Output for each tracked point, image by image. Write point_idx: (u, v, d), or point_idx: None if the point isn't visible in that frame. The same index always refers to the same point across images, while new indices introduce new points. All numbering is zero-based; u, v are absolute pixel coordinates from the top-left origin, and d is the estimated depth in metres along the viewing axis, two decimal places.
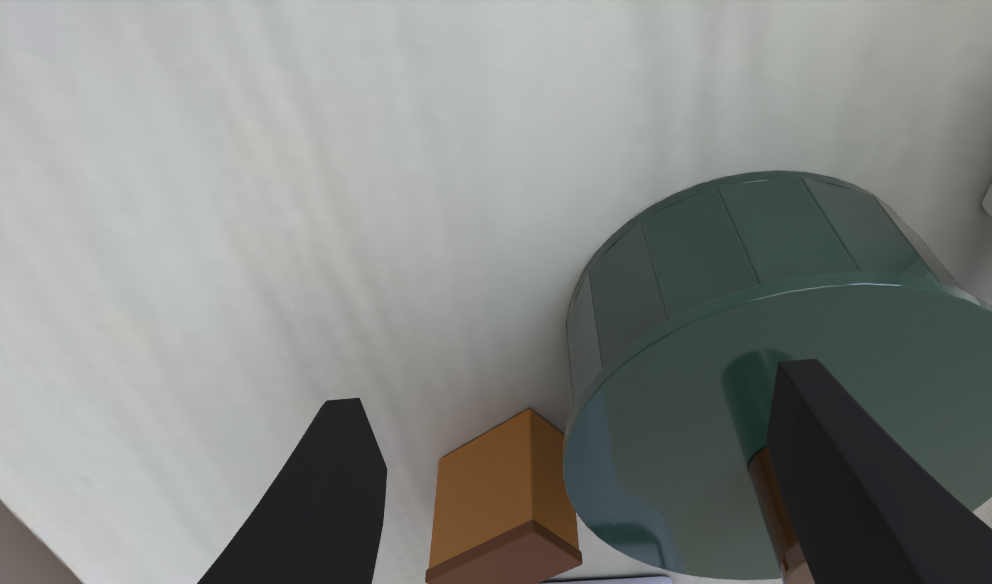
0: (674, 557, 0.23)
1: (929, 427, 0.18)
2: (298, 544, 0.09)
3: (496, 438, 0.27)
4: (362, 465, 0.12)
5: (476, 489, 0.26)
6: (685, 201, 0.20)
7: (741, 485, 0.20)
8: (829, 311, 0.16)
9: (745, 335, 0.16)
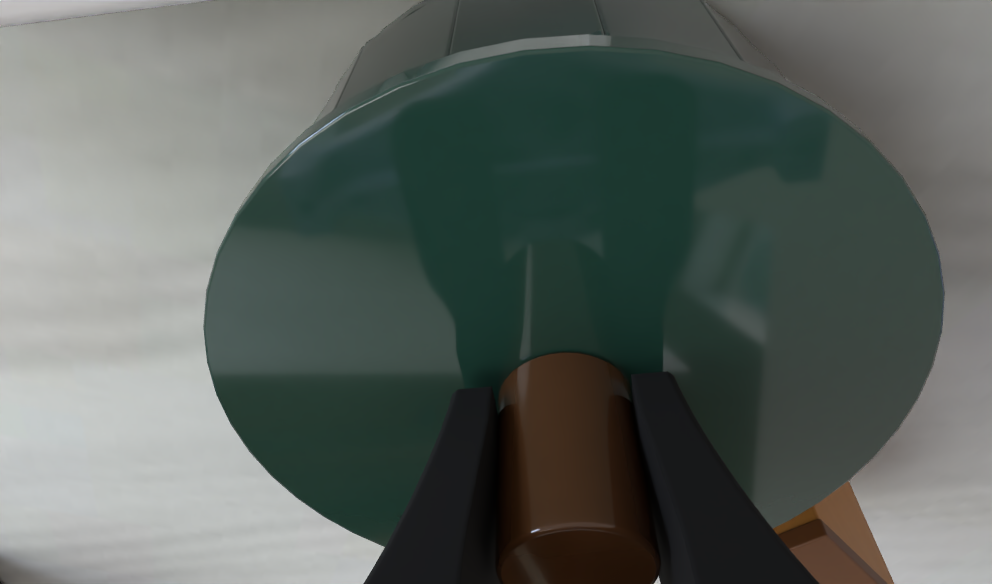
0: (803, 482, 0.14)
1: (473, 253, 0.11)
2: (466, 533, 0.09)
3: None
4: (496, 455, 0.12)
5: None
6: None
7: None
8: (266, 416, 0.13)
9: (321, 473, 0.14)
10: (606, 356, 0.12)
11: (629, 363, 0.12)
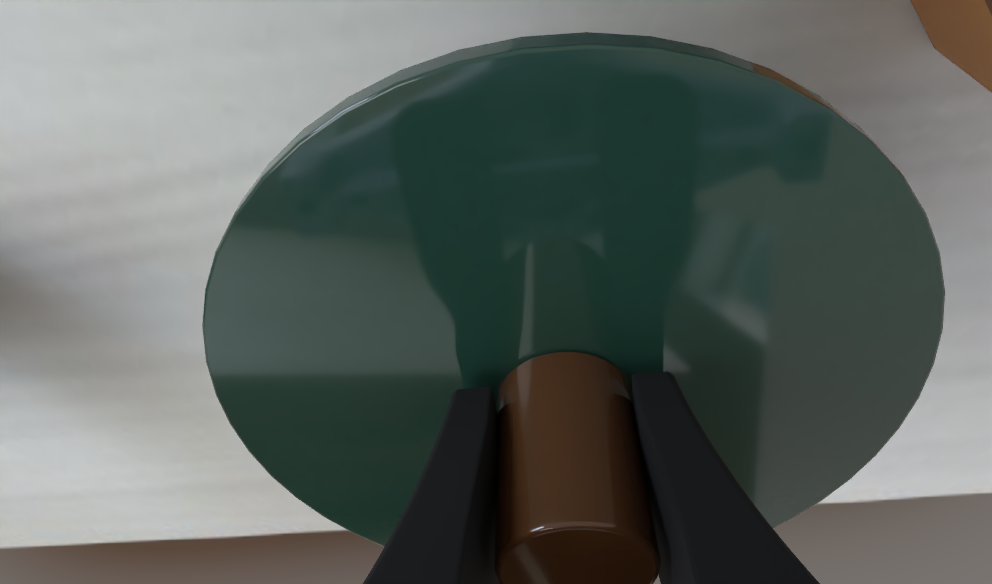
0: (803, 482, 0.14)
1: (473, 251, 0.11)
2: (466, 533, 0.09)
3: None
4: (496, 455, 0.12)
5: (949, 13, 0.15)
6: None
7: None
8: (265, 415, 0.13)
9: (320, 472, 0.14)
10: (606, 355, 0.12)
11: (629, 362, 0.12)
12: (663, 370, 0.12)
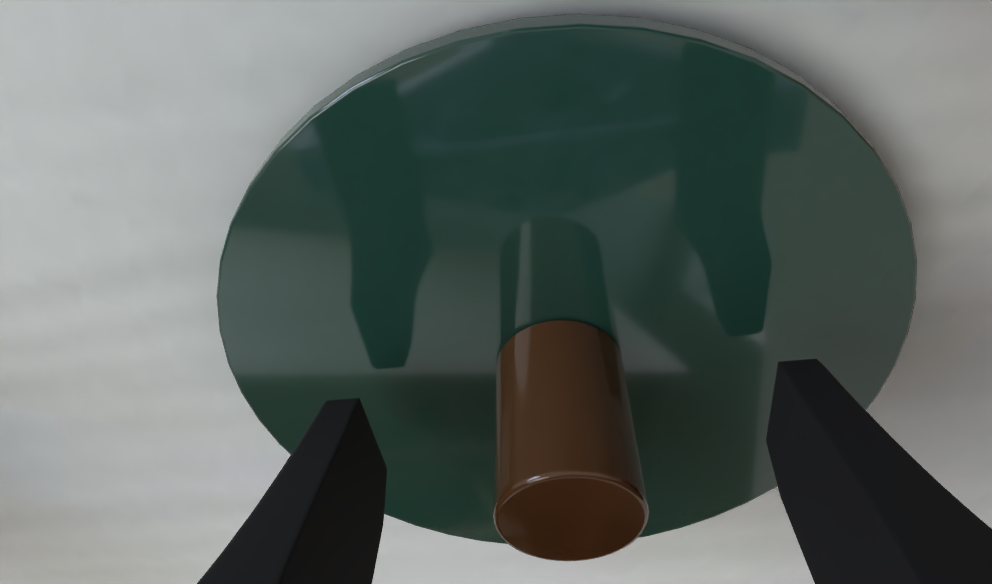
0: None
1: (472, 223, 0.11)
2: (298, 544, 0.09)
3: None
4: (362, 465, 0.12)
5: None
6: None
7: None
8: (275, 384, 0.14)
9: None
10: (598, 323, 0.13)
11: (620, 330, 0.13)
12: (653, 338, 0.13)
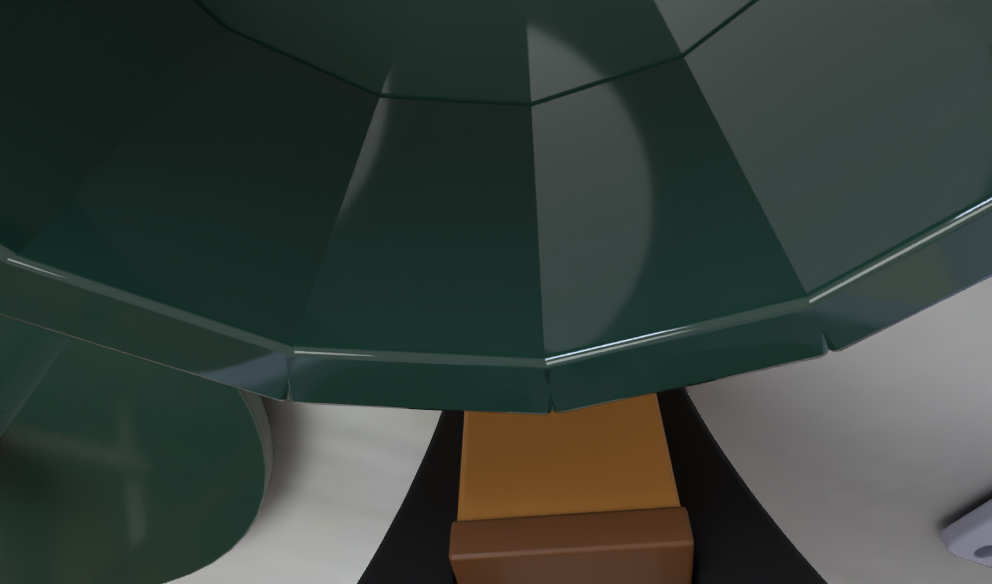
0: (150, 564, 0.16)
1: None
2: None
3: None
4: None
5: None
6: None
7: None
8: None
9: None
10: None
11: None
12: (26, 441, 0.13)
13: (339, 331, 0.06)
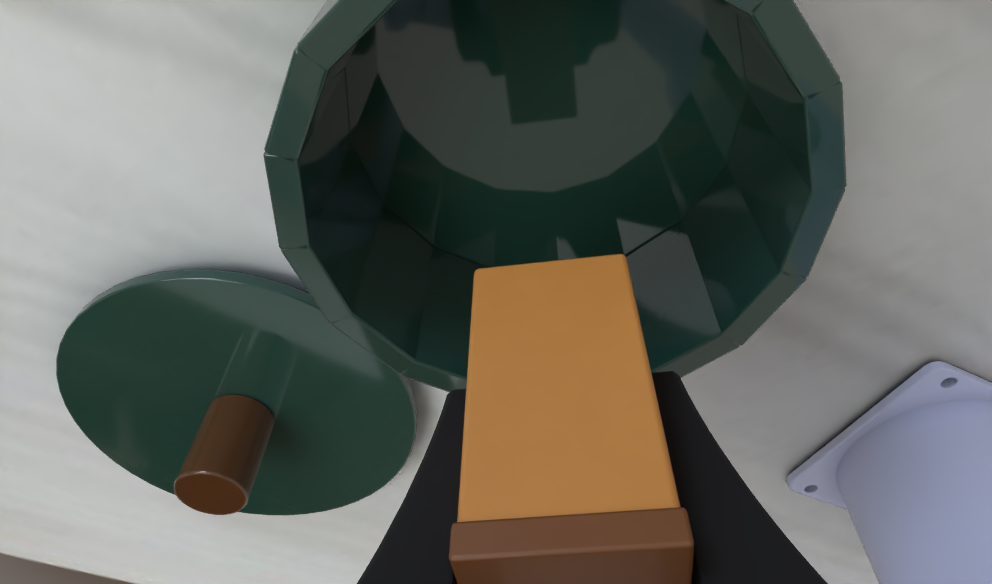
0: (336, 494, 0.29)
1: (231, 345, 0.23)
2: None
3: None
4: None
5: None
6: None
7: None
8: (80, 363, 0.24)
9: (90, 400, 0.25)
10: (269, 407, 0.25)
11: (278, 413, 0.25)
12: (292, 423, 0.26)
13: None
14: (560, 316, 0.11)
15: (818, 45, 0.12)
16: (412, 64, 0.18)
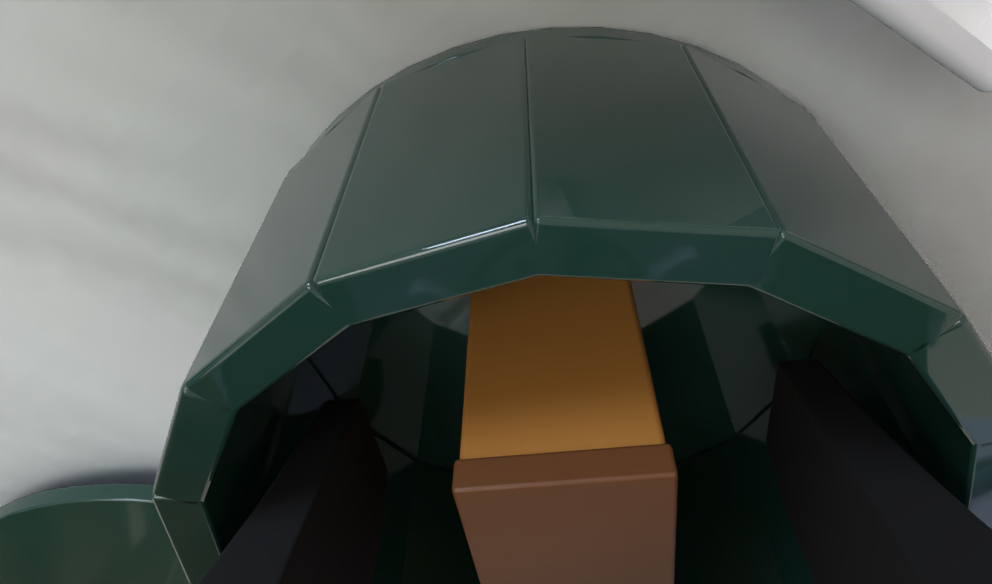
0: None
1: (168, 561, 0.19)
2: (298, 544, 0.09)
3: None
4: (362, 465, 0.12)
5: None
6: None
7: None
8: None
9: None
10: None
11: None
12: None
13: None
14: (556, 279, 0.11)
15: None
16: None
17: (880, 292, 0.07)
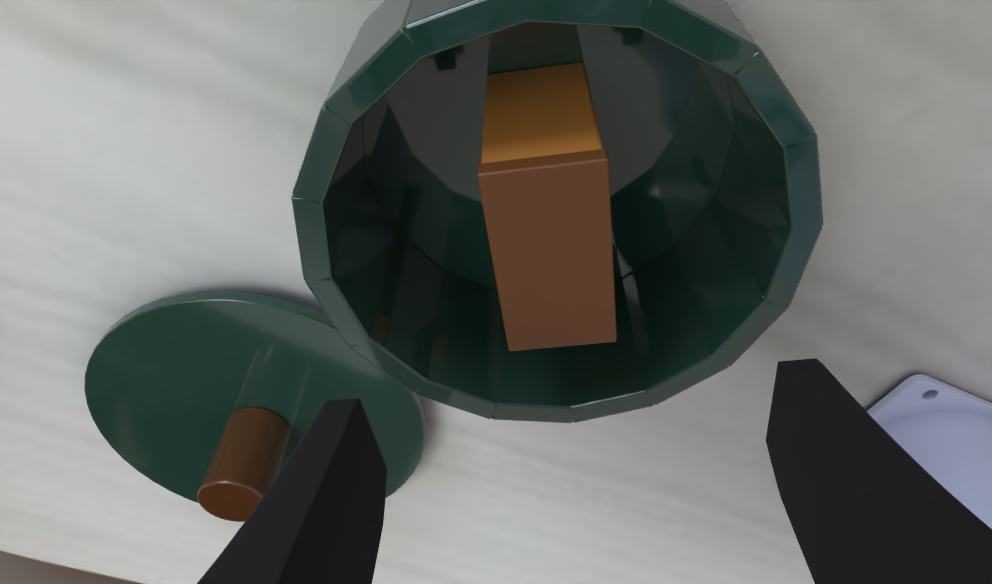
0: None
1: (250, 361, 0.25)
2: (298, 544, 0.09)
3: None
4: (362, 465, 0.12)
5: None
6: None
7: None
8: (107, 378, 0.25)
9: (116, 413, 0.27)
10: (285, 419, 0.27)
11: (294, 425, 0.27)
12: None
13: (509, 398, 0.20)
14: (541, 89, 0.17)
15: (794, 102, 0.14)
16: (424, 104, 0.19)
17: (710, 31, 0.13)
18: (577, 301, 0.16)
